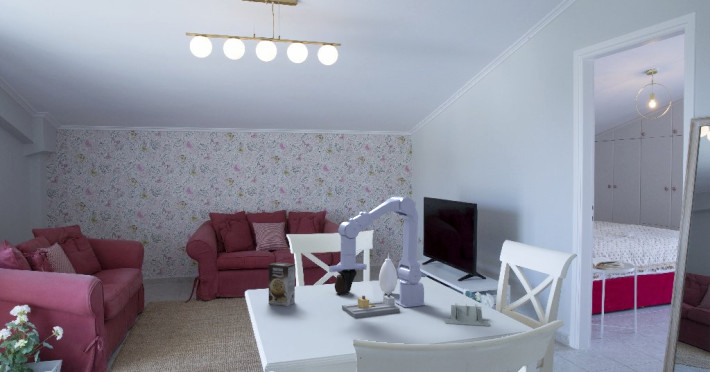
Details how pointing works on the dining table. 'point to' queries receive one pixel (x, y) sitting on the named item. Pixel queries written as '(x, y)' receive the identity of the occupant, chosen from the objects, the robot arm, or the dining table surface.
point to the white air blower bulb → (388, 277)
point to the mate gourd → (340, 286)
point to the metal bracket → (466, 316)
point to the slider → (363, 302)
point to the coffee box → (281, 283)
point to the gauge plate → (373, 308)
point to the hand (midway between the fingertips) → (347, 289)
